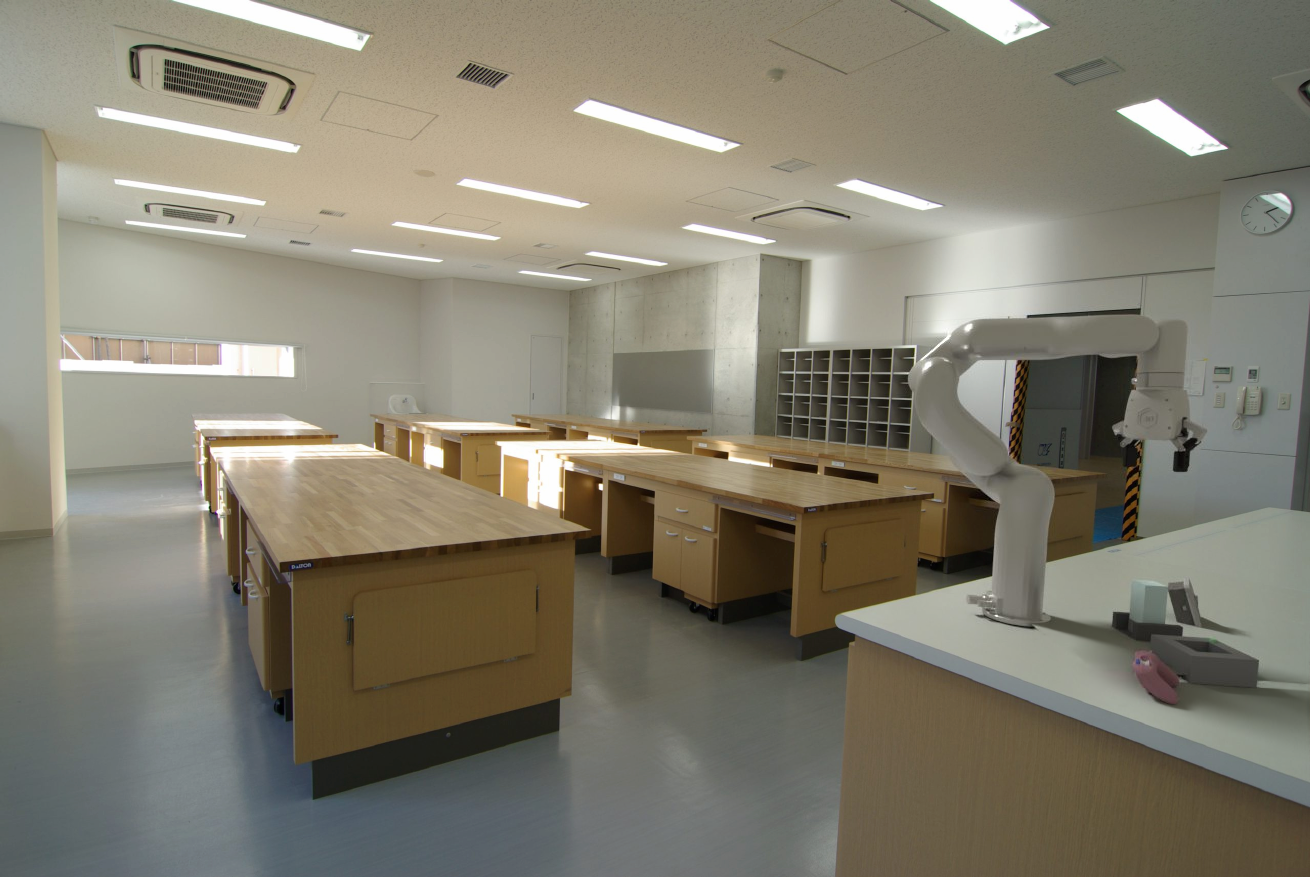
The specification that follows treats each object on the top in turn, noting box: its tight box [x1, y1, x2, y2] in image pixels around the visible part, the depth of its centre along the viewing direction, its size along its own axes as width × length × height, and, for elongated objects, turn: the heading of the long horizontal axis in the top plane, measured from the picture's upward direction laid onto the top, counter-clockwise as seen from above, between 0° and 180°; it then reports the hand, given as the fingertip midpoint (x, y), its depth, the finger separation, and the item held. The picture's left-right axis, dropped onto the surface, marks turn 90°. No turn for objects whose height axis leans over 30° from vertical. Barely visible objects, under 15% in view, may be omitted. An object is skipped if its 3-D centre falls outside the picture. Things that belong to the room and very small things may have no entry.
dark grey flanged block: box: [1111, 611, 1184, 643], centre depth 127 cm, size 8×8×4 cm
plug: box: [1128, 579, 1169, 632], centre depth 127 cm, size 4×4×10 cm
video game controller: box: [1132, 649, 1180, 705], centre depth 103 cm, size 10×5×7 cm, turn 141°
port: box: [1149, 634, 1260, 689], centre depth 111 cm, size 10×10×5 cm
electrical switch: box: [1167, 577, 1203, 628], centre depth 138 cm, size 9×5×9 cm, turn 141°
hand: (1154, 469), depth 132 cm, fingers open, 9 cm apart
